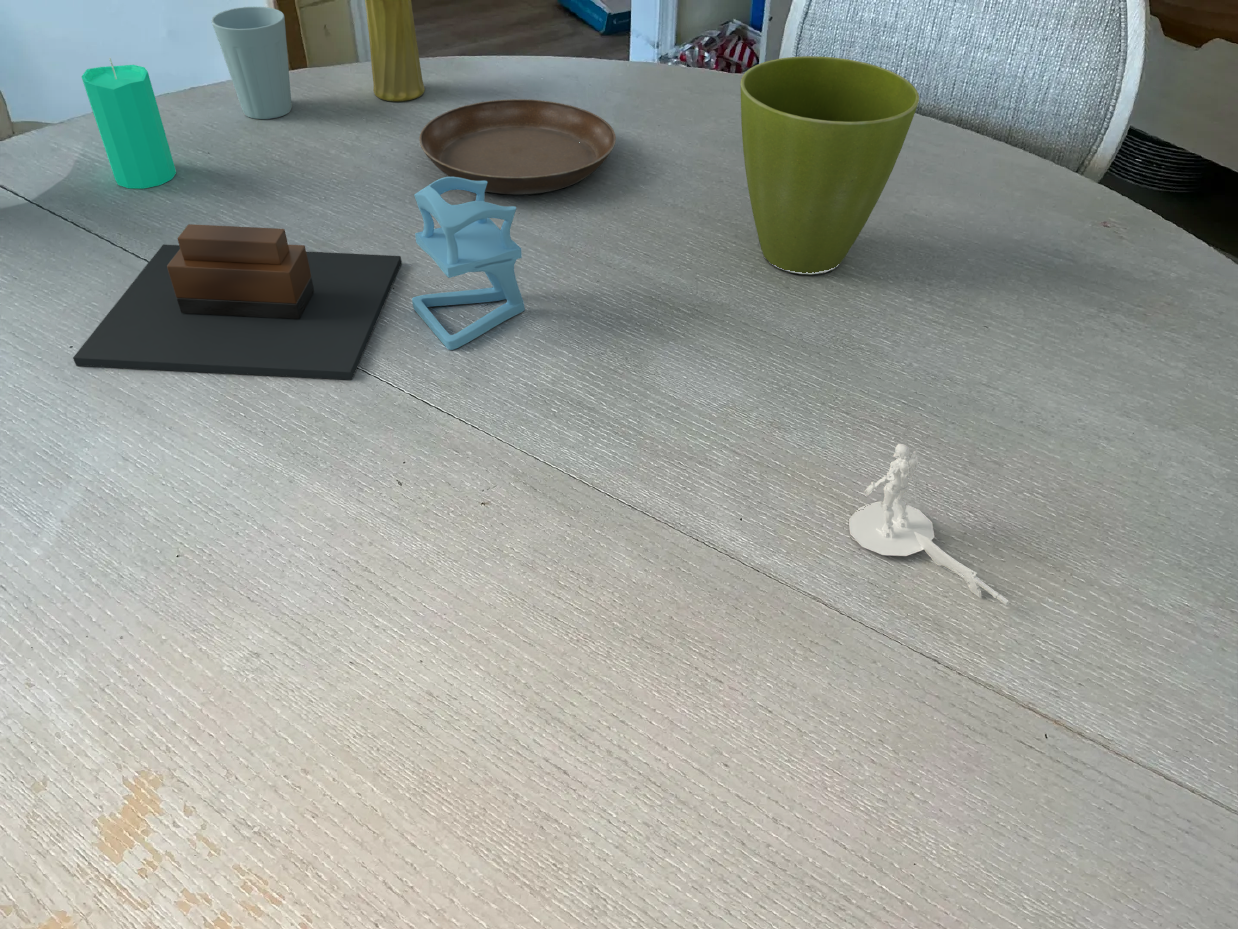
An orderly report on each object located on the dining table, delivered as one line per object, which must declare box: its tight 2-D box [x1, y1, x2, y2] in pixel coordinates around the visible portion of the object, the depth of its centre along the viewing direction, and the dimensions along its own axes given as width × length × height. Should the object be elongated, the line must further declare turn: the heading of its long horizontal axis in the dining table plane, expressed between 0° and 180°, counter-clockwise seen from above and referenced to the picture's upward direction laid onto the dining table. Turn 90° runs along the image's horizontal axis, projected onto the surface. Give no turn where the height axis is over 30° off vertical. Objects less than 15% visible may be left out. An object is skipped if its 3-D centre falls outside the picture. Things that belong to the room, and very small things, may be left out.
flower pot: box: [739, 55, 920, 273], centre depth 90 cm, size 15×15×16 cm
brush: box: [167, 223, 314, 319], centre depth 83 cm, size 10×4×6 cm, turn 87°
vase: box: [364, 0, 426, 103], centre depth 118 cm, size 6×6×14 cm
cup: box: [211, 6, 293, 120], centre depth 115 cm, size 8×8×10 cm
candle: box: [81, 57, 177, 190], centre depth 101 cm, size 6×6×12 cm
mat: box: [72, 244, 402, 381], centre depth 86 cm, size 22×18×1 cm
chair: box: [411, 176, 526, 351], centre depth 82 cm, size 8×8×12 cm
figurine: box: [848, 443, 1010, 607], centre depth 64 cm, size 6×12×8 cm, turn 38°
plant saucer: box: [418, 98, 617, 195], centre depth 108 cm, size 21×21×3 cm
